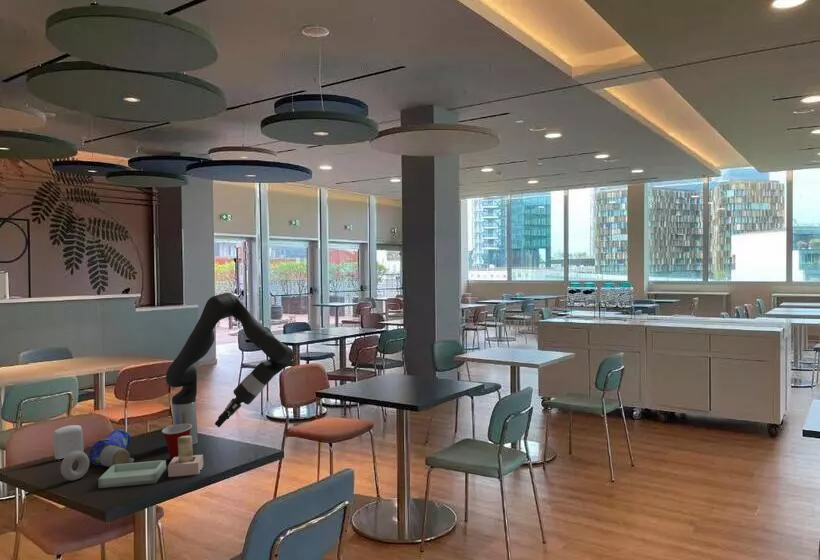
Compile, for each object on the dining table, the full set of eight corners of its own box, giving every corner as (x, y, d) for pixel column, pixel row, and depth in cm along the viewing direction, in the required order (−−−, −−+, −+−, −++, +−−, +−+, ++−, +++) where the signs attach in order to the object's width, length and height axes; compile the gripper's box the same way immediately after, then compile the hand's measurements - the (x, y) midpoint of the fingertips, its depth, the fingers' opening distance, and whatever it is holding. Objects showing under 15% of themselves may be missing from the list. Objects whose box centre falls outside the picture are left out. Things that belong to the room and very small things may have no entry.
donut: (85, 474, 217) (84, 446, 217) (92, 475, 216) (90, 447, 215) (59, 484, 208) (57, 454, 208) (65, 485, 207) (64, 455, 206)
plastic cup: (156, 461, 230) (155, 429, 229) (179, 453, 239) (178, 422, 239) (177, 464, 225) (175, 432, 224) (199, 456, 234) (198, 424, 234)
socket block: (174, 468, 220) (174, 457, 220) (203, 465, 222) (202, 454, 222) (168, 477, 210) (167, 465, 210) (198, 474, 212) (198, 462, 212)
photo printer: (56, 461, 235) (55, 429, 235) (53, 459, 238) (51, 428, 238) (85, 455, 242) (83, 424, 242) (81, 453, 245) (80, 422, 245)
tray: (113, 472, 218) (112, 464, 218) (166, 468, 221) (166, 459, 221) (98, 488, 202) (98, 479, 202) (155, 482, 205) (155, 473, 205)
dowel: (180, 469, 218) (179, 436, 218) (194, 468, 219) (193, 435, 219) (177, 474, 213) (176, 439, 213) (192, 472, 214) (190, 438, 214)
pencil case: (111, 466, 227) (110, 440, 226) (87, 467, 226) (85, 442, 226) (132, 449, 249) (131, 425, 248) (110, 450, 248) (109, 427, 248)
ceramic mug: (113, 471, 219) (113, 450, 219) (99, 468, 223) (98, 447, 223) (139, 463, 229) (138, 443, 229) (125, 460, 233) (124, 440, 233)
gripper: (243, 378, 226) (213, 411, 224) (239, 384, 212) (207, 420, 210) (259, 391, 227) (228, 424, 225) (256, 398, 213) (223, 434, 211)
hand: (218, 422), depth 218 cm, fingers open, 8 cm apart
